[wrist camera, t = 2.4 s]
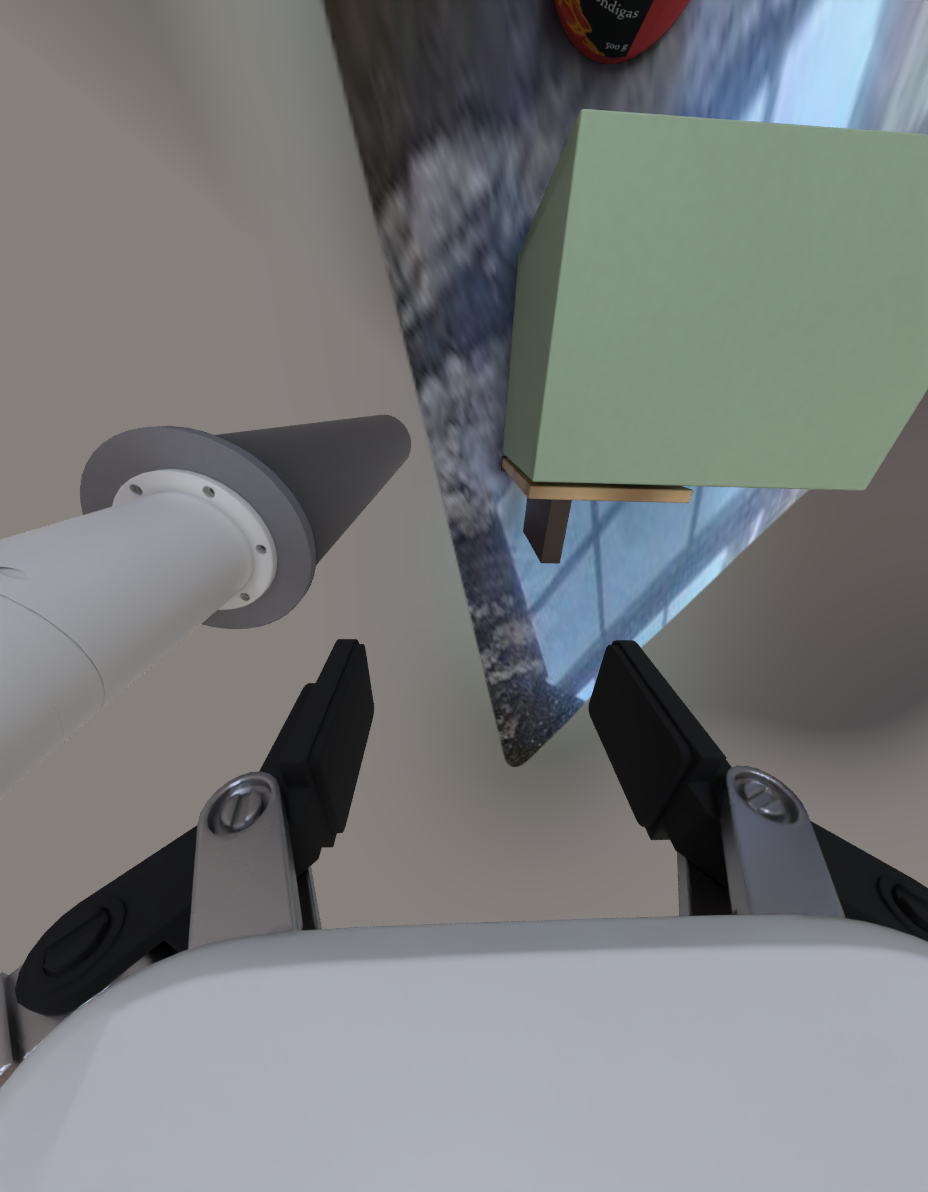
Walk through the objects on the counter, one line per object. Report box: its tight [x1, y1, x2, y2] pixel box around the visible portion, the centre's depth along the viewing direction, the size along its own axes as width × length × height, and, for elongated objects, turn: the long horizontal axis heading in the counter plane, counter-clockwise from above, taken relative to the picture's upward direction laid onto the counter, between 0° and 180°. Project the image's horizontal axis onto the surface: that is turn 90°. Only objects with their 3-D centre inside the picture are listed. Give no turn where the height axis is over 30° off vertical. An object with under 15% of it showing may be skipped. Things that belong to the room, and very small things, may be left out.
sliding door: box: [502, 458, 693, 563], centre depth 24 cm, size 9×5×11 cm, turn 88°
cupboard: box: [501, 109, 928, 491], centre depth 20 cm, size 18×13×12 cm
